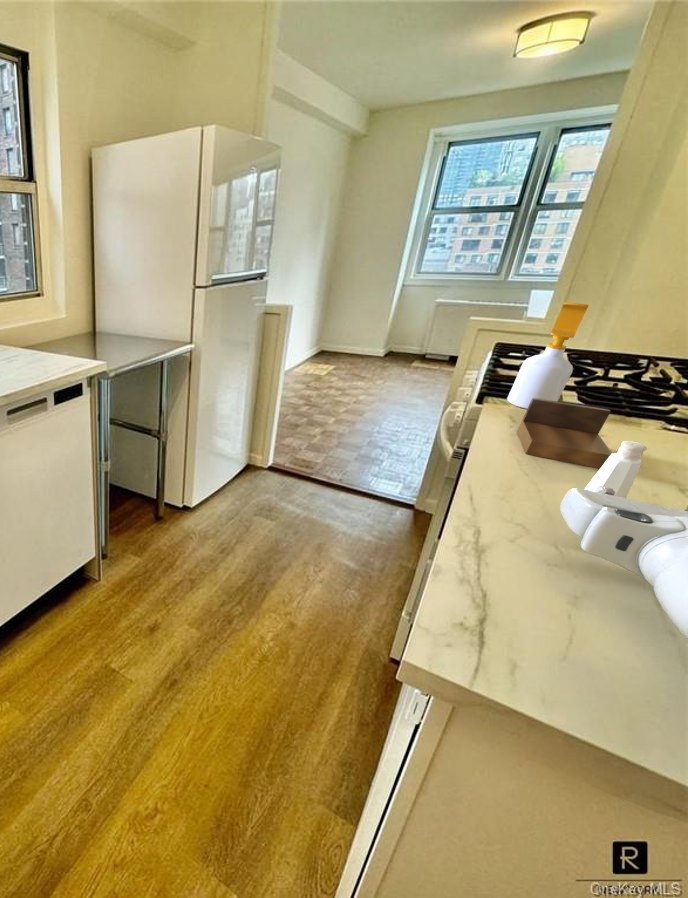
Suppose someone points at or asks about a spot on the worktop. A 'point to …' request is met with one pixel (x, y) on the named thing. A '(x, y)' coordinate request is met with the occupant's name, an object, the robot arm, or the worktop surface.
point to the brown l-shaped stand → (564, 432)
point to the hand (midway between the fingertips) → (646, 500)
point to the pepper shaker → (619, 469)
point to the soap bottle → (548, 362)
